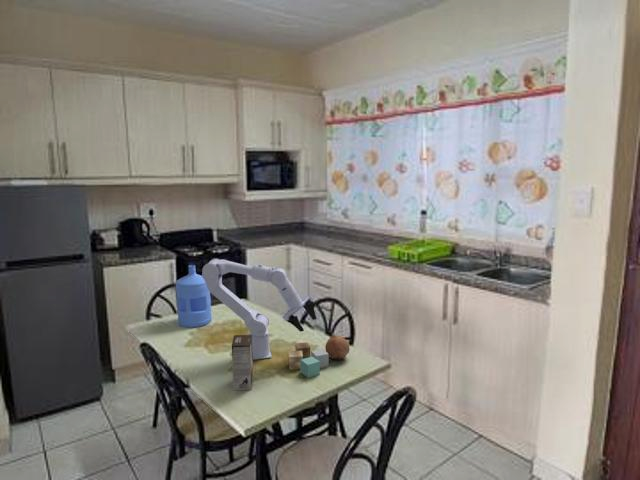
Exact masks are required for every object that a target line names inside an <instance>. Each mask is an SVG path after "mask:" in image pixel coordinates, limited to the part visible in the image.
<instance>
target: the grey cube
mask: <svg viewBox="0 0 640 480" xmlns="http://www.w3.org/2000/svg"><path fill="white" fill-rule="evenodd" d="M310 357H314V358H315V359H317V360H318V361H320V369H321V368H326V367H329V366H330V365H329V361H330V359H329V357H330V356H329V354H328V353H327V352H326V349H325V348H321V349H315V350H314V349H313V350H310Z"/></svg>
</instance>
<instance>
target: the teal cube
mask: <svg viewBox="0 0 640 480" xmlns="http://www.w3.org/2000/svg"><path fill="white" fill-rule="evenodd" d="M320 371H321V368H320V361H318V360H317V359H315V358H314V357H311V356H310V357H309V358H305V359H302V360H301V369H300V373H301V374H303V376H305V377H306V378H307V379H309V378H312V377H315V376H319V375H320Z"/></svg>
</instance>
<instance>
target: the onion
mask: <svg viewBox="0 0 640 480" xmlns="http://www.w3.org/2000/svg"><path fill="white" fill-rule="evenodd" d="M324 350H325V351H326V352H327V353H328V354H329V357H330V358H331V359H333V360H336V361H341V360H343V359H344V358H346V357H347V355H348V354H349V353H350V344H349V342H348V340H347V339H346V338H344V337H343V336H339V335H336V334H332V336H330V337H329V338H328V340H327V341H326V343H325V348H324Z"/></svg>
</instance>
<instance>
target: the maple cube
mask: <svg viewBox="0 0 640 480" xmlns="http://www.w3.org/2000/svg"><path fill="white" fill-rule="evenodd" d="M302 359H303V354H302V351H295V350H293V351H292V350H291V351H290V350H288V363H289V364H288V365H289V370H301V360H302Z"/></svg>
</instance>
